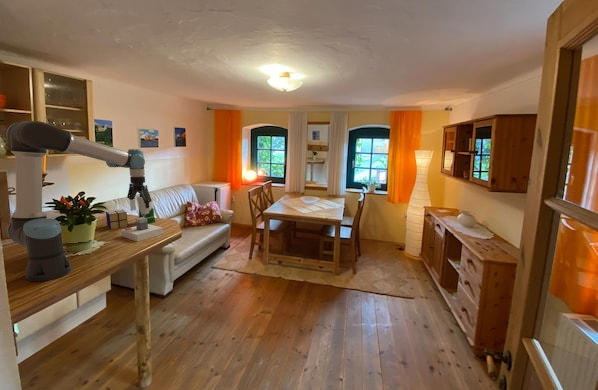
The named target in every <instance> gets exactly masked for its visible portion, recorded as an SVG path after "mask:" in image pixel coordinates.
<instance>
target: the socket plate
mask: <svg viewBox="0 0 598 390" xmlns="http://www.w3.org/2000/svg"><path fill="white" fill-rule="evenodd" d="M163 231H164V229H163V227H161V226H157V225H153V224H151V223H150V224H148V229H145V230H142V231H139V230H137V227H136V225H134V226H132V227H126V228H125V229H124V228H123V229H121V230H120V233H121V237H123V238H126V239H128V240H132V241H135V242H137V243H138V242H141V241H144V240H147V239H151V238H154V236H155V237H157V236H160V235H161V234H162V235H163V233H164V232H163Z"/></svg>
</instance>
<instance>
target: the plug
mask: <svg viewBox="0 0 598 390" xmlns="http://www.w3.org/2000/svg"><path fill="white" fill-rule="evenodd" d="M135 226H136V227H137V230H139V231H142V230H145V229H148V222H147V218H145V217H141V218H139V217H137V218H135Z"/></svg>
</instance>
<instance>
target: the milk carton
mask: <svg viewBox="0 0 598 390" xmlns="http://www.w3.org/2000/svg"><path fill="white" fill-rule="evenodd" d="M150 197H151V200H152V201H151V202H149V213H148V214H144V200H143V198H142V196H141V195H140V194H139V196H137V197H136V196H135V199H136V202H137V208H138V216H139V217H138V218H141V217H145V218H147V222H148V224H150V225H151V224H153V223H156V218H155V210H154V199H155V197H154V196H151V195H150Z"/></svg>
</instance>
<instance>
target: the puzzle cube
mask: <svg viewBox="0 0 598 390" xmlns="http://www.w3.org/2000/svg"><path fill="white" fill-rule="evenodd" d="M127 213H128V212H127V211H125V209H123V208H122V209H115V210H107V211H105V217H106V224H107V225H106V226H107V227H108V228H109V229H110V230H117V229H122V228H123V229H124V228H129V223H128V215H127Z"/></svg>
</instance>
